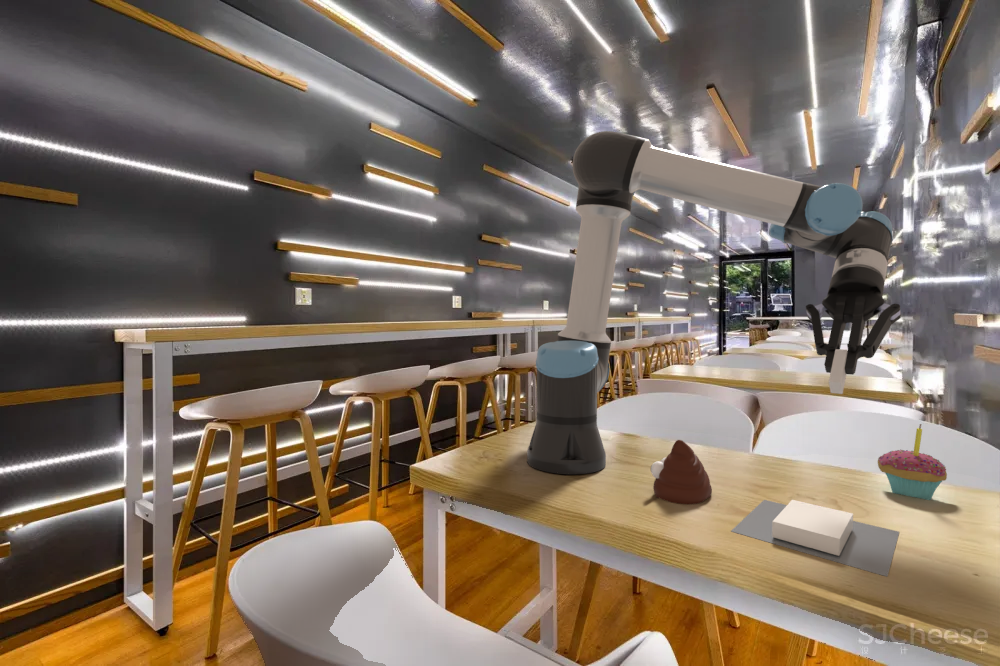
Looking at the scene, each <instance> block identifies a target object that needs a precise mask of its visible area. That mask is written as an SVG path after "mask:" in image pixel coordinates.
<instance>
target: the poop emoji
mask: <svg viewBox="0 0 1000 666" xmlns="http://www.w3.org/2000/svg"><path fill="white" fill-rule="evenodd" d="M650 472H651V474H652V476H653V477H654V478H655V479H654V481H653V487H652V489H653V493H654V495H655V497H656V498H657V499H661V500H663V501H665V502H668V503H673V504H678V505H679V504H680V505H696V504H701V503H703V502H705V501H706V499H709V498H710V497H711V495H712V493H713V487H712V485H711V481H710V478H709V477H710V476H709V475H708V473H707V471H706V469H705V467H704V464H703V463H702V461H701V460H700V459H699V457H698V455H697V454H695V452H694V450H693V449H692V448H691V447H690V446H689V445H688V443H686V442H685V441H684V440H682V439H677V440H675V442H674V443H673V446H672V448H671V451H670V453H669V454H668V455H667V456H665V457H663V458H662V459H660V460H659V461H658V460H657V461H655V462H653V463H652V464H651V465H650Z"/></svg>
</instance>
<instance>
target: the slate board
mask: <svg viewBox="0 0 1000 666" xmlns="http://www.w3.org/2000/svg"><path fill="white" fill-rule="evenodd" d="M787 505H788V504H784V503H780V502H776V501H772V500H767V499H763V500H762V501H761V502H760V503H759V504H758V505H756V506H755V508H753V509H752V511H751V512H749V513H748V514H747V515H746V516H745V517H744V518H743V519H742V520H741V521H740V522H738V523H737V525H735V526H734V528H732V529H731V530H730V532H731V533H735V534H738V535H741V536H745V537H747V538H748V537H749V538H753V539H755V540H758V541H763V542H765V543H770V544H773V545H777V546H780V547H783V548H787V549H790V550H793V551H798V552H800V553H804V554H807V555H811V556H814V557H817V558H821V559H824V560H827V561H831V562H833V563H834V562H835V563H838V564H842V565H845V566H849V567H852V568H855V569H859V570H862V571H866V572H869V573H873V574H875V575H876V574H877V575H879V576H883V577H886V578H887V577H889V572H890V568H891V565H892V561H893V557H894V554H895V550H896V548H897V547H896V546H897V542H898V539H899V535H900V531H898V530H893V529H889V528H885V527H881V526H878V525H877V526H876V525H872V524H869V523H865V522H860V521H856V520H853V529H852V531H851V533H850V535H849V537H848V539H847V541H846V543H845V545H844V547H843V549H842V551H841V553H840V555H839V556H838V555H834V554H831V553H827V552H824V551H820V550H816V549H813V548H809V547H806V546H802V545H799V544H795V543H792V542H788V541H785V540H781V539H778V538H774V537H772V521H773V520H774V519H775V518H776V517H777V516H778V515H779V514H780V512H781V511H782V510H783V509H784V508H785V507H786V506H787Z"/></svg>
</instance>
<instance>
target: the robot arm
mask: <svg viewBox="0 0 1000 666" xmlns="http://www.w3.org/2000/svg"><path fill="white" fill-rule="evenodd" d="M572 172H573V176H574V178H575V181H576V182H577V184H578V189H577V197H576V204H575V211H576V212H577V214H578V215H579V216H580V227H579V232H578V240H577V248H576V253H575V262H574V269H573V275H572V283H571V290H570V297H569V304H568V311H567V318H566V325H565V327H564V328H563V329H561V331H560V332H558V333H557V340H556V341H550V342H546V343H544V344H541V345H540V346H539V347H538V349H537V352H536V359H535V367H536V422H535V427H534V429H533V432H532V434H531V435H532V436H531V438H530V441H529V445H528V447H527V454H526V457H527V458H526V460H527V461H526V462H527V463H528V465H529V466H530V467H531V468H533V469H536V470H538V471H542V472H546V473H549V474H560V475H582V474H583V475H584V474H592V473H595V472H599V471H601V470H603V469H605V467H606V464H607V463H606V462H607V460H606V457H607V455H606V453H607V452H606V450H605V447H604V444H603V440H602V436H601V433H600V431H599V426H598V393H599V392H600V391H601V390H602V389H603V388H604V387H605V385H606V384H607V381H608V379H609V376H610V363H609V360H610V353H611V344H612V340H611V338H610V337H609V336H608V334H607V332H606V329H607V324H608V317H609V312H610V311H609V309H610V303H611V295H612V290H613V289H612V288H613V282H614V275H615V268H616V262H617V256H618V249H619V242H620V235H621V228H622V223H623V221H625V220H626V219H627V218H628V217H630V216H631V212H632V203H633V199H634V195H635V194H636V191H639V190H641V191H644V192H645V191H646V192H649V193H652V194H657V195H660V196H664V197H669V198H671V199H676V200H679V201H683V202H687V203H691V204H694V205H698V206H702V207H706V208H710V209H714V210H717V211H722V212H725V213H729V214H733V215H737V216H740V217H745V218H748V219H752V220H756V221H760V222H764V223H768V224H770V226H769V228H768V235H769V236H770V237H771V238H773V239H775V240H778V241H780V242H782V243H783V244H789V245H792V246H796V247H799V248H803V249H806V250H808V251H812V252H816V253H818V254H822V255H825V256H828V257H831V258H835V261H834V265H833V269H832V274H831V278H830V283H829V286H828V292H827V295H826V296H825V297H824V299H822V301H821V303H819V304H817V305H815V304H813V303H812V304H811V303H810V304H807V305H805V310H806V315H807V316H806V317H807V319H808V320H809V321H810V322H811V324H812V332H813V339H814V345H815V350H816V355H818V356H825V359H824V364H823V365H824V368H825V369H824V370H825V372H826V373H830V374H829V378H828V386H829V391H830V394H839V395H843V394H844V388H845V385H846V384H845V383H846V378H847V375H855V373H856V371H857V364H858V361H859V359H861V358H866V359H872V358H873V357H874V356H875V354H876V353H877V351H878V349H879V347H880V346H881V344H882V342H883V340H884V338H885V336H886V335H887V334H888V331H889V330H890V329H891V326H892V325H893V324H894V323H896V322H897V321H898V320H900V319H901V316H902V315H901V305H900V304H898V303H892V304H888V303H885V302H886V301H885V299H884V298H883V295H884V290H885V289H884V288H885V282H886V277H887V272H888V262H889V261H888V260H889V257H890V250H891V246H892V244H893V230H894V229H893V223H892V222H891V220H890V219H889V217H888V216H887V215H885V214H884V213H881V212H880V211H879V212H878V211H863V205H864V204H863V198H862V196H861V194H860V192H859V191H858V190H857V189H856V188H854V187H853V186H851V185H849V184H846V183H841V182H835V183H829V184H825V185H822V186H821V185H818V184H812V183H808V182H802V181H798V180H793V179H789V178H786V177H782V176H777V175H774V174H769V173H764V172H761V171H758V170H753V169H752V170H751V169H749V168H743V167H739V166H735V165H731V164H727V163H723V162H719V161H714V160H710V159H706V158H702V157H697V156H693V155H688V154H685V153H682V152H681V153H680V152H676V151H673V150H668V149H663V148H659V147H655V146H653V144H652V143H651V141H650V139H648V138H645V137H640V136H636V135H631V134H628V133H623V132H619V131H612V130H609V131H608V130H604V131H599V132H595V133H592V134H590V135H589V136H587V137H586V138H585V139H583V140H582V141H581V142H580V143H579V144H578V146H577V148H576V149H575V152H574V155H573V158H572ZM824 312H825V313H826V314H827V316H829V317H830V318H831V319H832V320H833V321H832V323H831V324H832V325H831V329H830V335H829V339H828V343H826V342H825V340H824V333H823V327H822V321H821V319H822V317H824ZM879 313H880V314H879ZM878 314H879V316H878V317H877V319H876V320H875V323H874V325H873V326H872V327H871V329H870V331H869V333H868V334H867V336H866V338H865V340H864V341H863V343H862V340H863V335H864V330H865V326H866V322H869V320H870V319H872V318H873V317H875V316H877V315H878ZM847 324H851V327H850V332H849V338H848V342H847V343H846V346H847V349H841V345H842V341H843V336H844V332H845V329H846V326H847Z"/></svg>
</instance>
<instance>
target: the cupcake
mask: <svg viewBox="0 0 1000 666" xmlns="http://www.w3.org/2000/svg"><path fill="white" fill-rule="evenodd" d="M922 434H923V428H922V423H920V424H919V427H917V428H916V432H915V438H914V447H913V450H908V449H907V450H903V449H900V450H899V449H897V450H891V451H888V452H886V453H883V454H882V455H880V456H878V458H877V466H878V469H879V470H880V471H881V472H882V473H884V474H885V475H886V478H887V480H888V483H889V485H890V486H889V487H890V489H891V492H892V493H893V494H897V495H902V496H905V497H906V496H907V497H912V498H917V499H922V500H928V501H931V500H932V498H933V496H934V493H935V492H936V490H938V489H937V488H938V487H939V486H940V484H941V483H942V482H943V481H946V480H947V479H948V474H947V468H946V466H945V465H944V463H942V462H940V459H937V458H935V457H933V456H932V455H930V454H928V453H927V454H925V453H924V452H923V453H920V447H921V441H922Z"/></svg>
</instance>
